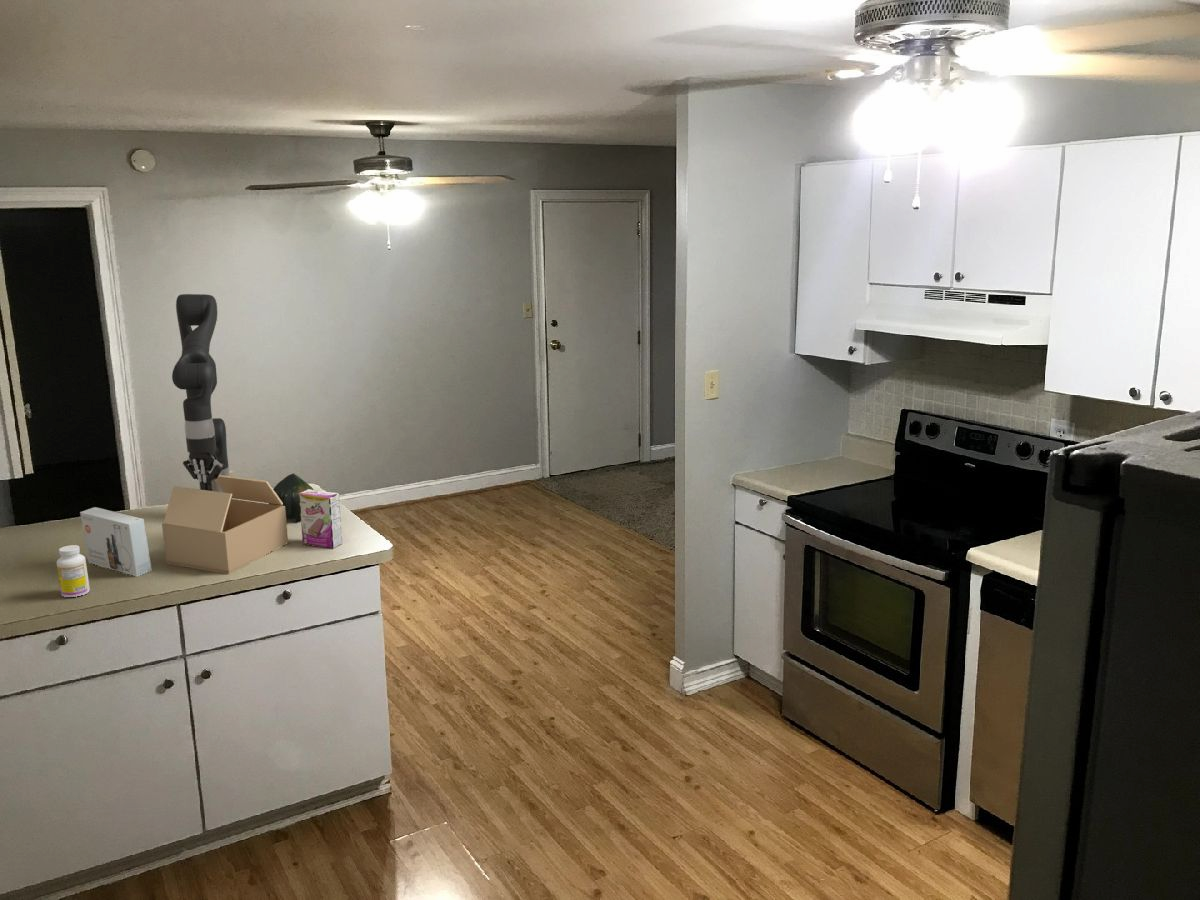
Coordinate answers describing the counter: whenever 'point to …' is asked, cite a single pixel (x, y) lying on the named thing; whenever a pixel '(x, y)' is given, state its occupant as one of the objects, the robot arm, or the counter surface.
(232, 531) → the carton
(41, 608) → the counter surface
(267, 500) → the back flap
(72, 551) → the supplement bottle
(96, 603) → the counter surface
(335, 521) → the candy bar box
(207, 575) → the counter surface
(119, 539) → the skincare box
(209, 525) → the front flap
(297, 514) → the squash
